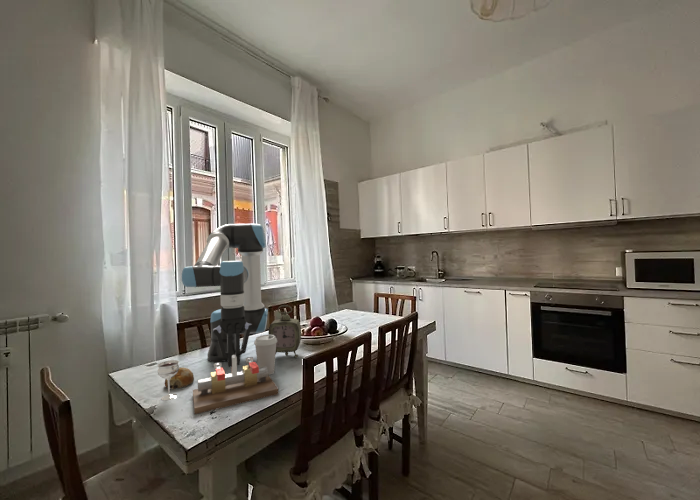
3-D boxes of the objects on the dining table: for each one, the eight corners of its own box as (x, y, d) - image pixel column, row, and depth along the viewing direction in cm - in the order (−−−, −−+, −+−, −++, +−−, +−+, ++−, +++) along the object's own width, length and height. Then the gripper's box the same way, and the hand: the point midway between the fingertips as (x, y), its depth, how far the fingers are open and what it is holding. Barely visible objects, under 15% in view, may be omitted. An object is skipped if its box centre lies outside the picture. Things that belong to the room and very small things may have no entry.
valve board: (192, 395, 113) (192, 389, 113) (268, 379, 126) (268, 374, 126) (194, 414, 100) (194, 408, 100) (278, 394, 112) (278, 388, 112)
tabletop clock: (268, 360, 147) (267, 307, 147) (273, 353, 156) (272, 303, 156) (299, 359, 147) (298, 306, 147) (302, 353, 156) (301, 303, 156)
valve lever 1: (213, 368, 113) (213, 363, 113) (221, 367, 114) (221, 361, 114) (217, 381, 102) (216, 375, 102) (225, 379, 103) (225, 373, 103)
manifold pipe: (197, 391, 111) (197, 370, 111) (265, 377, 123) (265, 358, 122) (198, 397, 107) (197, 375, 107) (268, 381, 119) (268, 361, 119)
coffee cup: (271, 378, 127) (271, 341, 127) (250, 376, 129) (249, 340, 128) (281, 368, 136) (281, 334, 136) (261, 367, 138) (260, 333, 138)
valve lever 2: (245, 362, 118) (245, 357, 118) (252, 361, 119) (252, 356, 119) (251, 374, 107) (251, 368, 107) (259, 372, 108) (259, 366, 108)
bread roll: (195, 392, 123) (202, 371, 126) (171, 391, 115) (180, 368, 118) (180, 387, 128) (188, 366, 131) (156, 385, 120) (165, 363, 123)
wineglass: (154, 398, 111) (153, 364, 111) (173, 391, 117) (173, 358, 117) (164, 403, 107) (163, 368, 107) (183, 395, 113) (182, 362, 113)
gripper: (212, 310, 100) (214, 383, 100) (254, 305, 106) (256, 375, 107) (210, 306, 107) (212, 375, 107) (250, 302, 113) (251, 367, 113)
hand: (234, 375), depth 107 cm, fingers closed
